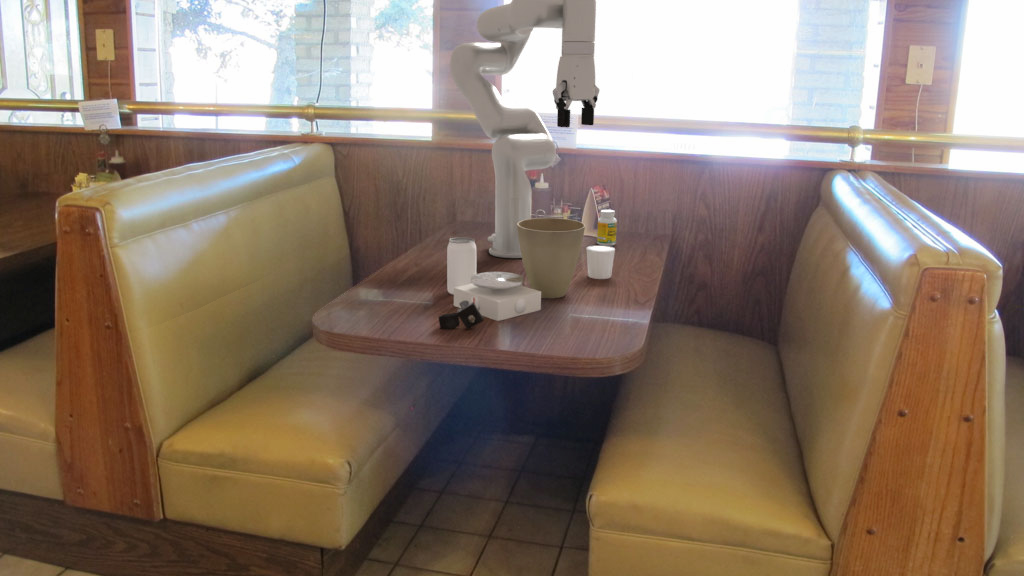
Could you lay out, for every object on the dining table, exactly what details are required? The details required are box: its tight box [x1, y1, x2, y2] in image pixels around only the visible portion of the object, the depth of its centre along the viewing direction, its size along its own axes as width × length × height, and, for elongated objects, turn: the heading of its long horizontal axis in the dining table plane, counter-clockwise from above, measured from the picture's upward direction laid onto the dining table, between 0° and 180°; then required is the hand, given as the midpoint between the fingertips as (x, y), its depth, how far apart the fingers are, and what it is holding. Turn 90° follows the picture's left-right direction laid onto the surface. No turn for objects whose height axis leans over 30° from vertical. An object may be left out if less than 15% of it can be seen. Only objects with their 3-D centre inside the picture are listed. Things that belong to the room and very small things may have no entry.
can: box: [446, 236, 477, 296], centre depth 187 cm, size 6×6×12 cm
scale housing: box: [453, 284, 542, 322], centre depth 176 cm, size 14×12×4 cm
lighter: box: [438, 300, 485, 330], centre depth 163 cm, size 8×2×5 cm
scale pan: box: [471, 271, 525, 289], centre depth 176 cm, size 11×11×2 cm
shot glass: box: [586, 244, 616, 280], centre depth 203 cm, size 7×7×7 cm
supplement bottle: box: [596, 209, 618, 247], centre depth 238 cm, size 5×5×10 cm
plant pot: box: [517, 217, 586, 299], centre depth 186 cm, size 15×15×16 cm
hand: (575, 125), depth 198 cm, fingers open, 9 cm apart
